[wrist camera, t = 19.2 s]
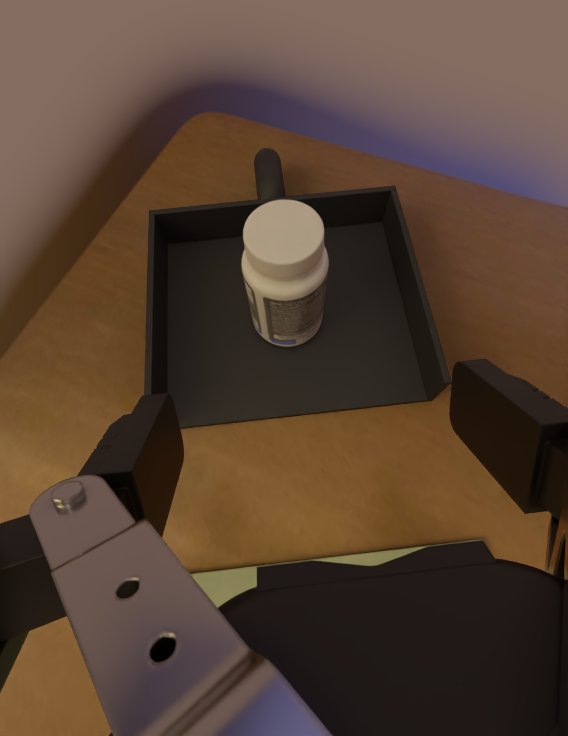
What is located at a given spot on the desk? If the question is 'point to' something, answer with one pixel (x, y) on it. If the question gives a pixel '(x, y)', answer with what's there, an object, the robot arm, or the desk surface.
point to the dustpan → (301, 362)
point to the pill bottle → (285, 271)
